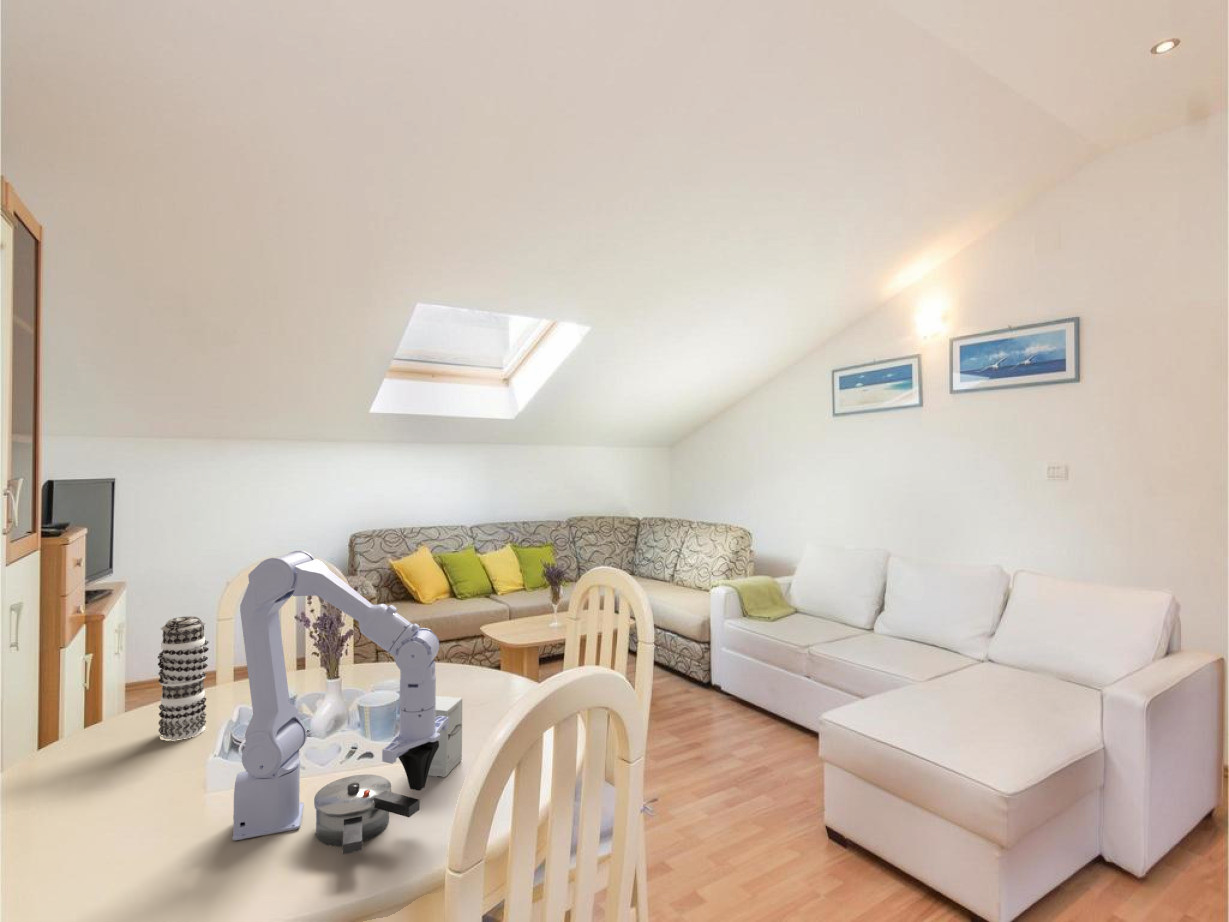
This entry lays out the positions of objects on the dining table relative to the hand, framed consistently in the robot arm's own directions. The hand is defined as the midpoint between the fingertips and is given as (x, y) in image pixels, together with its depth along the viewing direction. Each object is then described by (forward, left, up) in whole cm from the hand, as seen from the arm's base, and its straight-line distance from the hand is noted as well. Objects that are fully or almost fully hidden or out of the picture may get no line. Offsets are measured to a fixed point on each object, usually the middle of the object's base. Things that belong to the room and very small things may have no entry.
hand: (417, 787), depth 106 cm
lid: (-7, 0, -1) cm, 7 cm away
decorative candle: (-45, +54, -6) cm, 71 cm away
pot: (-10, -1, -5) cm, 11 cm away
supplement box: (+5, +18, -6) cm, 20 cm away
